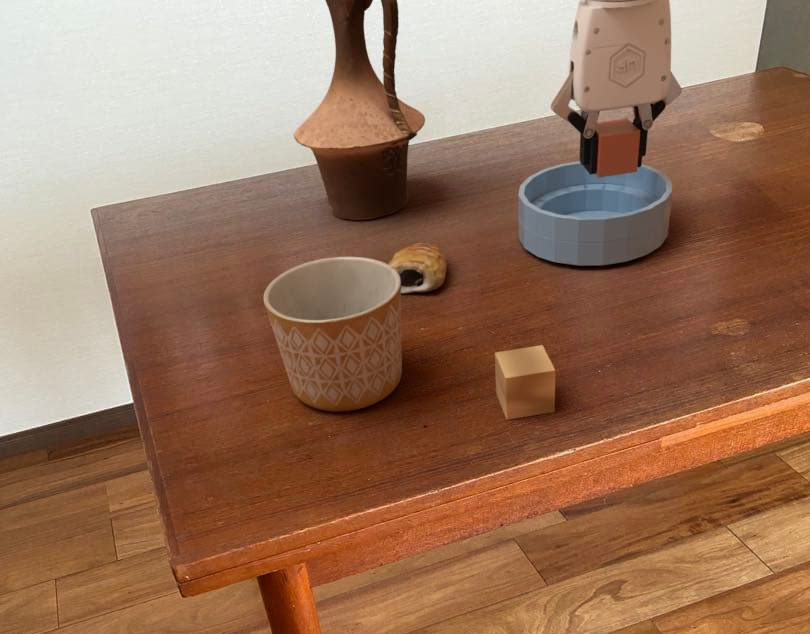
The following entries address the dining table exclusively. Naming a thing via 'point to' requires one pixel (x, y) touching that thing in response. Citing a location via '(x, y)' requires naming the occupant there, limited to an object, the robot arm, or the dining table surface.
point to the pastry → (420, 267)
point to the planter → (338, 330)
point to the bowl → (593, 214)
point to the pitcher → (362, 121)
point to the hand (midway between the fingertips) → (611, 165)
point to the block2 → (617, 147)
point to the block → (525, 382)
